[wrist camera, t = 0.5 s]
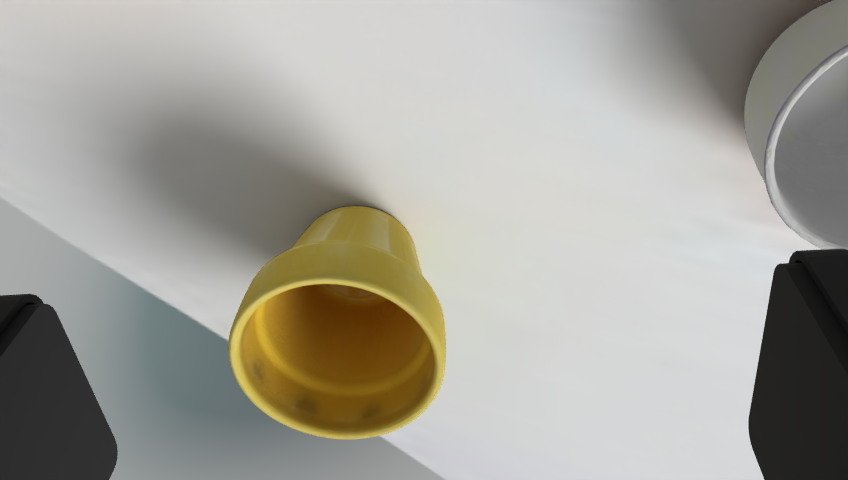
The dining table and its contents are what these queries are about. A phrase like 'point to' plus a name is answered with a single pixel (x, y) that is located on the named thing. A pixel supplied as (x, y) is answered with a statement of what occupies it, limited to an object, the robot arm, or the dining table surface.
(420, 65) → the dining table surface
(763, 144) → the teacup
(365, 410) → the plant pot
